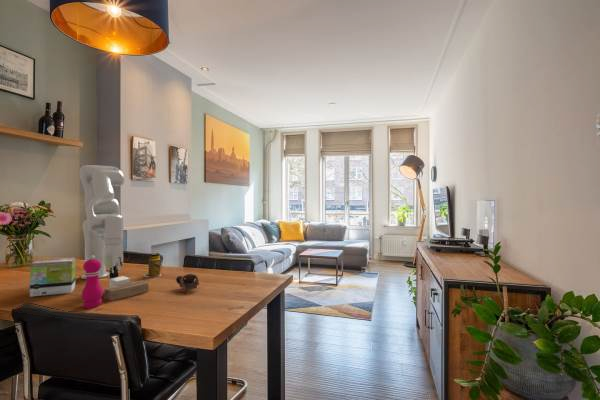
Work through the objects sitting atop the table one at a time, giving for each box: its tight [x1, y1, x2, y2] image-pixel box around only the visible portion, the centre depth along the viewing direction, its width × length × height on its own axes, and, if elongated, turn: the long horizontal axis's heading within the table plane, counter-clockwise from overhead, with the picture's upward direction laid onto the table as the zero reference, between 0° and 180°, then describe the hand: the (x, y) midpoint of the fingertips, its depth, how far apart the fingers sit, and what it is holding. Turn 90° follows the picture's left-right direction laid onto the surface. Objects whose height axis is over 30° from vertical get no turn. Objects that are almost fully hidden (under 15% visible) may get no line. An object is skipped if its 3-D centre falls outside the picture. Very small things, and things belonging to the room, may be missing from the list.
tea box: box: [29, 257, 77, 298], centre depth 142 cm, size 15×10×15 cm
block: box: [108, 275, 131, 288], centre depth 144 cm, size 7×6×6 cm
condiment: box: [143, 252, 163, 278], centre depth 173 cm, size 7×8×12 cm
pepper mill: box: [81, 255, 104, 309], centre depth 125 cm, size 7×7×20 cm
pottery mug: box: [175, 273, 200, 293], centre depth 148 cm, size 12×9×8 cm
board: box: [103, 280, 149, 302], centre depth 139 cm, size 6×16×4 cm, turn 144°
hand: (114, 280), depth 147 cm, fingers closed
